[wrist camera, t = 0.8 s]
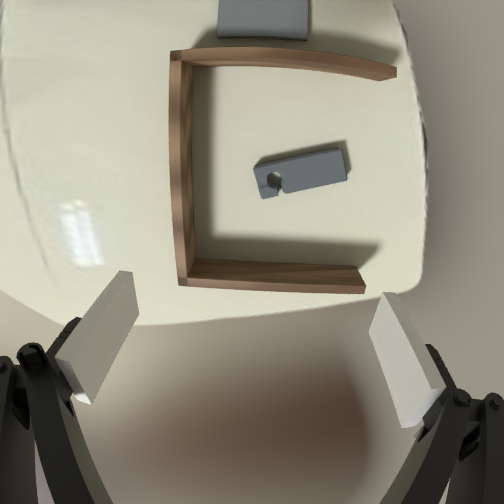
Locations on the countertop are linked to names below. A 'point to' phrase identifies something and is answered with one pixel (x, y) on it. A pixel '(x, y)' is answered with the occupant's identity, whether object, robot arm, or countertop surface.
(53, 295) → the countertop surface
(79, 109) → the countertop surface
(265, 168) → the bracket
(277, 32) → the slate mat
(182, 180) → the u-shaped wooden frame
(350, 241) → the countertop surface
